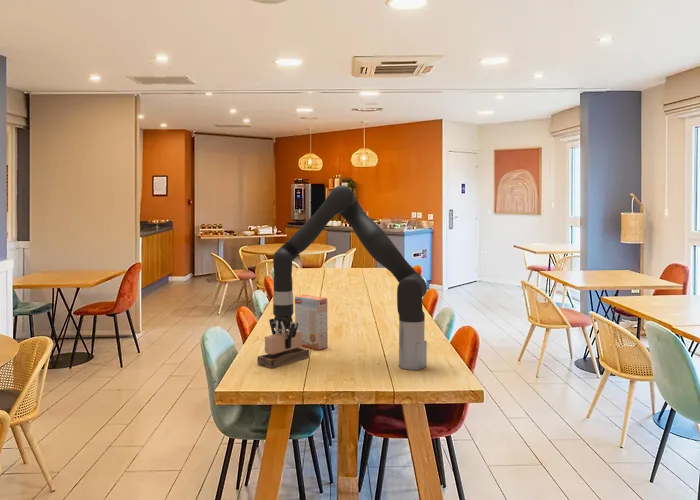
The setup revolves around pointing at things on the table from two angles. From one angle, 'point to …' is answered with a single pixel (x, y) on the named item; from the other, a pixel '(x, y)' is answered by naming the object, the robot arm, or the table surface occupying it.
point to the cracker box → (312, 321)
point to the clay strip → (281, 342)
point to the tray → (283, 357)
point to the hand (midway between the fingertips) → (283, 347)
